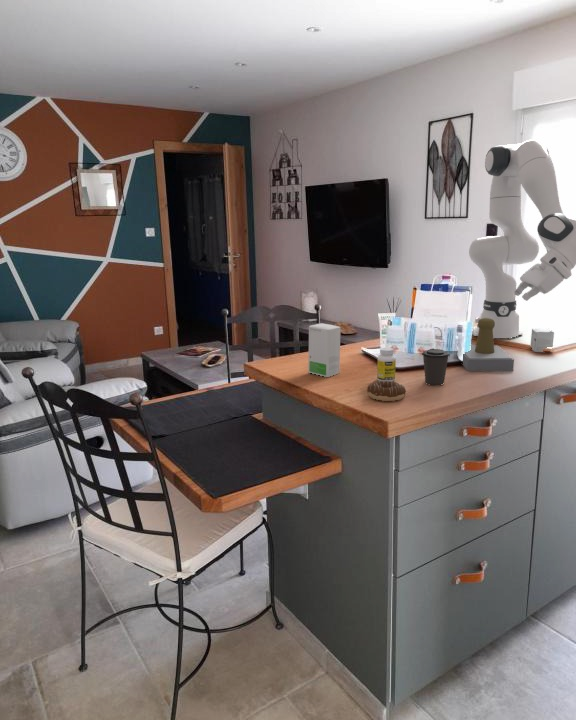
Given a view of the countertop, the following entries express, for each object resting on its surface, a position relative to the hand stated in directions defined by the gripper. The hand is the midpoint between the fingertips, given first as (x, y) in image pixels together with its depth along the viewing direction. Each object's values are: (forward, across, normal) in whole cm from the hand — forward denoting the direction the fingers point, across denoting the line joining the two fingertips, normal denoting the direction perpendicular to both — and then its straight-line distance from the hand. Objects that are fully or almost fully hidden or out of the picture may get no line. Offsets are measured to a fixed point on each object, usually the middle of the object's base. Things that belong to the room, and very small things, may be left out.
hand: (519, 296), depth 178 cm
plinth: (+23, 0, +9) cm, 24 cm away
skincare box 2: (+6, -18, +26) cm, 32 cm away
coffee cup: (+36, +22, -5) cm, 43 cm away
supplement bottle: (+46, +20, -15) cm, 52 cm away
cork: (+20, 0, +6) cm, 21 cm away
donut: (+47, +36, -15) cm, 61 cm away
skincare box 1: (+59, +13, -28) cm, 67 cm away
